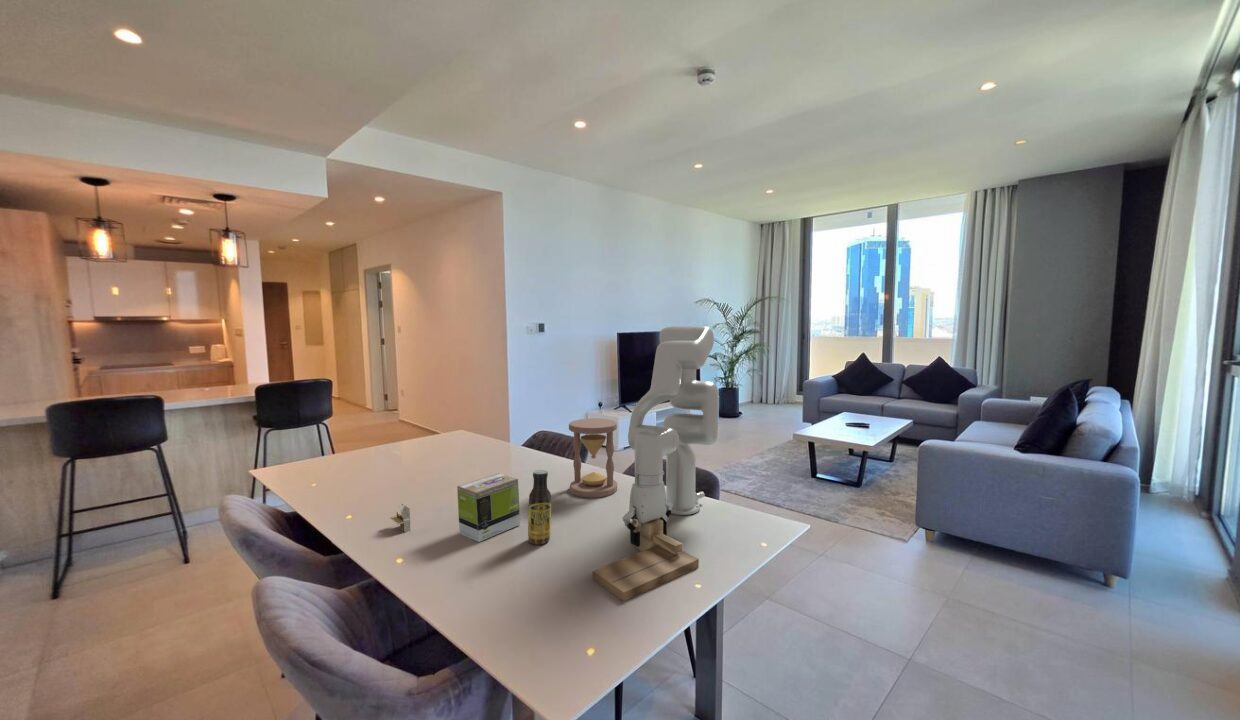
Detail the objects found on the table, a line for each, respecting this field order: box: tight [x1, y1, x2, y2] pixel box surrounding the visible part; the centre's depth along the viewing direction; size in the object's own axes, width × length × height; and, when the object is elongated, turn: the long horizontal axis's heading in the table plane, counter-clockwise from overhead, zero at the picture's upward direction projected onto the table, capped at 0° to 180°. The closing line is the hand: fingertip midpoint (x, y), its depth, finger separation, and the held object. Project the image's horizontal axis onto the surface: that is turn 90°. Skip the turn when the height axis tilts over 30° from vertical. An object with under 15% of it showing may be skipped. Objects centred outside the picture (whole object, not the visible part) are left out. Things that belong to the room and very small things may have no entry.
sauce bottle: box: [527, 469, 552, 546], centre depth 134 cm, size 7×6×20 cm
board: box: [592, 545, 700, 602], centre depth 117 cm, size 24×12×2 cm, turn 128°
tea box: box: [456, 473, 521, 543], centre depth 142 cm, size 15×10×15 cm, turn 141°
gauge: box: [634, 518, 683, 555], centre depth 127 cm, size 5×14×8 cm, turn 38°
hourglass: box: [568, 417, 618, 499], centre depth 176 cm, size 18×18×25 cm
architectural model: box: [389, 502, 411, 533], centre depth 143 cm, size 3×7×7 cm, turn 46°
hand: (648, 539), depth 130 cm, fingers open, 9 cm apart
